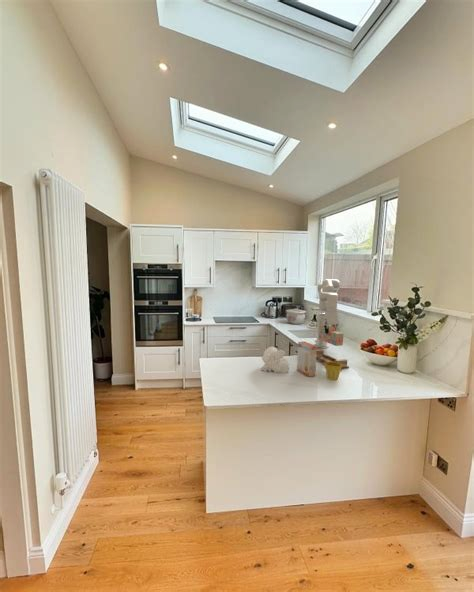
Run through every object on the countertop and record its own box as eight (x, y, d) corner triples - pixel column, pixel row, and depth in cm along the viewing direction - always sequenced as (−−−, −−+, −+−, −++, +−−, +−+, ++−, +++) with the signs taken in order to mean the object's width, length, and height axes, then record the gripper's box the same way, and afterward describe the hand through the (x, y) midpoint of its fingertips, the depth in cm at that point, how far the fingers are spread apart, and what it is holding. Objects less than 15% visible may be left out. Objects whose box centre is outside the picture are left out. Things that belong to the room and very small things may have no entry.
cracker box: (315, 376, 198) (317, 345, 196) (308, 377, 195) (310, 346, 193) (303, 369, 210) (304, 340, 208) (296, 370, 208) (297, 341, 206)
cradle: (310, 357, 238) (310, 350, 238) (321, 356, 243) (322, 349, 243) (336, 370, 211) (336, 361, 210) (348, 368, 216) (349, 359, 215)
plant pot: (338, 382, 187) (339, 367, 186) (322, 379, 193) (323, 364, 192) (342, 377, 196) (343, 363, 195) (326, 374, 202) (327, 360, 201)
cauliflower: (299, 360, 201) (276, 346, 196) (284, 386, 199) (260, 372, 195) (288, 354, 219) (267, 341, 215) (274, 377, 217) (252, 364, 213)
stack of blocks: (342, 345, 216) (343, 329, 215) (335, 346, 214) (336, 329, 213) (325, 338, 236) (325, 323, 235) (318, 339, 234) (319, 324, 233)
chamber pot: (306, 326, 375) (307, 309, 373) (284, 324, 379) (285, 308, 377) (305, 322, 402) (306, 307, 400) (285, 321, 407) (285, 306, 405)
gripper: (336, 308, 230) (335, 331, 232) (319, 309, 223) (317, 332, 225) (343, 310, 223) (342, 333, 225) (325, 311, 216) (324, 334, 218)
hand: (330, 332), depth 225 cm, fingers closed on stack of blocks, 6 cm apart
